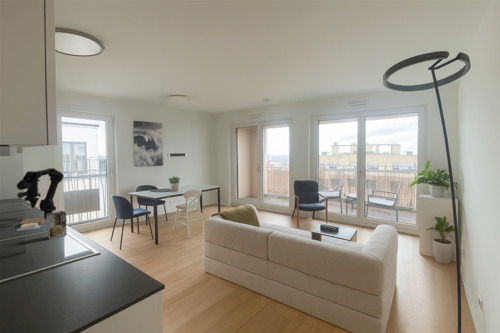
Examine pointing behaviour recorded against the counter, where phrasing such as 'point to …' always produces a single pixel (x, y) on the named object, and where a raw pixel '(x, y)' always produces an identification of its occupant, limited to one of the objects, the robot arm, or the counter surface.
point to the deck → (33, 221)
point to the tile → (29, 225)
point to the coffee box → (56, 224)
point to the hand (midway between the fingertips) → (33, 207)
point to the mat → (29, 228)
